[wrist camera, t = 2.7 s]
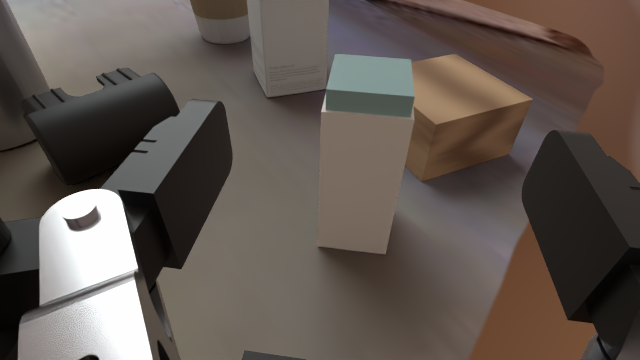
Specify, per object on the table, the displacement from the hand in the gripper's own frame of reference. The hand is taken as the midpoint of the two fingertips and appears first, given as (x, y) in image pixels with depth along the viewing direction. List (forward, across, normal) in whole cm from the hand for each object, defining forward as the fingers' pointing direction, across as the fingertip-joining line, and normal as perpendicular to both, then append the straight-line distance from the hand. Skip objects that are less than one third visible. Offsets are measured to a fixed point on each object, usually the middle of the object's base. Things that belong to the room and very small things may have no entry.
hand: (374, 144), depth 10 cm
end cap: (+16, +22, +16) cm, 31 cm away
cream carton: (+12, 0, +16) cm, 19 cm away
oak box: (+24, -7, +16) cm, 30 cm away
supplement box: (+34, +10, +15) cm, 38 cm away
